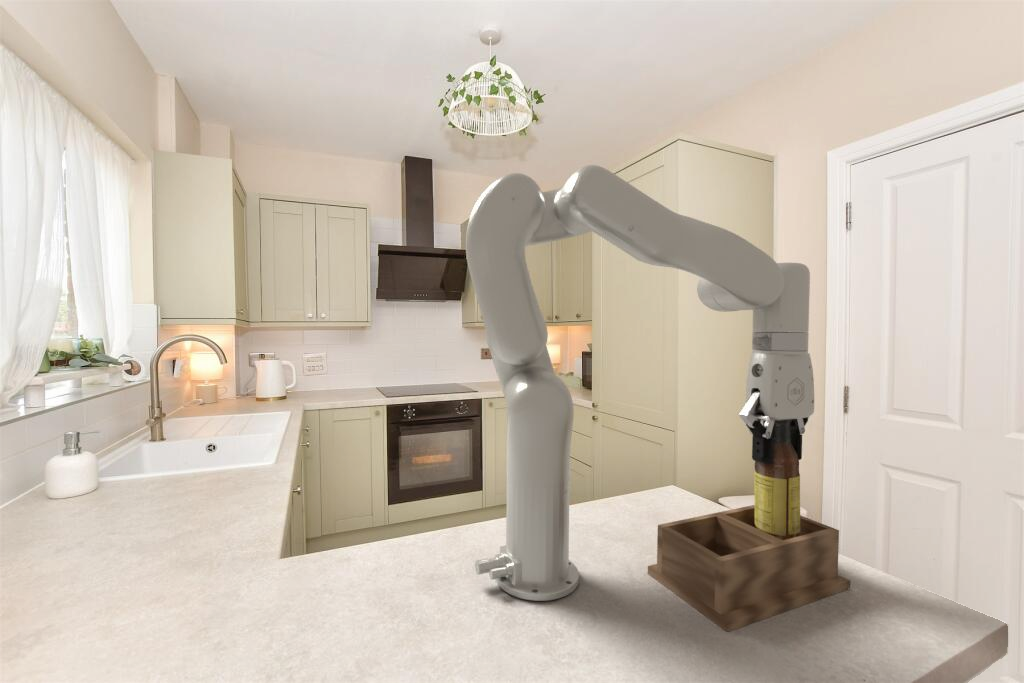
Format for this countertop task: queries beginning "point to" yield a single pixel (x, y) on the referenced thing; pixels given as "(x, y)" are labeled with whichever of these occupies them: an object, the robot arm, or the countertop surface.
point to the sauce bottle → (778, 487)
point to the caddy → (746, 566)
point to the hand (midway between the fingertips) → (776, 458)
